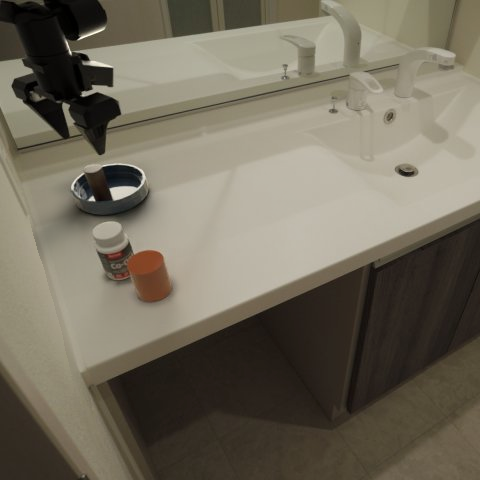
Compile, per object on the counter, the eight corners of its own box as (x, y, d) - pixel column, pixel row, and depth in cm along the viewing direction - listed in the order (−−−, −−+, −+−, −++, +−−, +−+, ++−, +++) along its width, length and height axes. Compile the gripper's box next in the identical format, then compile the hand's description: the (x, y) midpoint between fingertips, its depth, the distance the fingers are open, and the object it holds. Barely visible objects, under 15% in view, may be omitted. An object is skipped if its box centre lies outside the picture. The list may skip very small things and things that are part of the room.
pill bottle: (118, 285, 64) (101, 245, 58) (100, 271, 66) (82, 231, 60) (144, 268, 67) (130, 228, 61) (127, 255, 69) (112, 215, 63)
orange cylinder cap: (131, 298, 62) (119, 271, 58) (147, 274, 66) (138, 247, 62) (162, 304, 61) (153, 277, 57) (177, 280, 65) (169, 252, 61)
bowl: (61, 210, 76) (54, 196, 74) (102, 172, 86) (97, 159, 84) (126, 222, 75) (121, 208, 73) (161, 182, 85) (157, 168, 82)
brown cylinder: (92, 203, 77) (79, 171, 73) (101, 194, 80) (89, 162, 75) (107, 206, 77) (95, 174, 72) (116, 196, 79) (105, 165, 75)
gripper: (136, 49, 62) (159, 142, 73) (58, 25, 69) (89, 114, 79) (69, 71, 55) (105, 171, 65) (-11, 42, 62) (33, 137, 72)
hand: (84, 146), depth 71 cm, fingers open, 9 cm apart
